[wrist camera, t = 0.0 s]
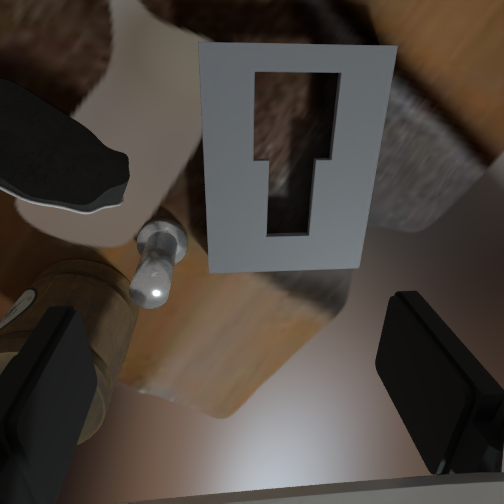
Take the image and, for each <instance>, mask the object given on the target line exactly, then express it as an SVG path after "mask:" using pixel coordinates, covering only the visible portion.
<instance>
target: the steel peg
mask: <svg viewBox="0 0 504 504" xmlns="http://www.w3.org/2000/svg"><path fill="white" fill-rule="evenodd" d="M187 244H188V235H187V232H186V230H185V228H184V227H183V226H182V225H181V224H180V223H179V222H178V221H176V220H174V219H172V218H169V217H155V218H152V219H150V220H149V221H147V222H146V223H145V224H144V225H143V227H142V228H141V231H140V233H139V235H138V238H137V248H138V251H139V253H140V255H141V258H140V261H139V263H138V266H137V269H136V272H135V274H134V277H133V280H132V282H131V285H130V288H129V295H130V298H131V299H132V301H133V302H134V303H135V304H137V305H138V306H140V307H143V308H148V309H152V308H157V307H160V306H161V305H163V304H164V303H165V302H166V301H167V299H168V295H169V290H170V285H171V280H172V275H173V269H174V264H176V263H178V262H179V261H180V260H181V259H182V258H183V257H184V256H185V253H186V250H187Z"/></svg>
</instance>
